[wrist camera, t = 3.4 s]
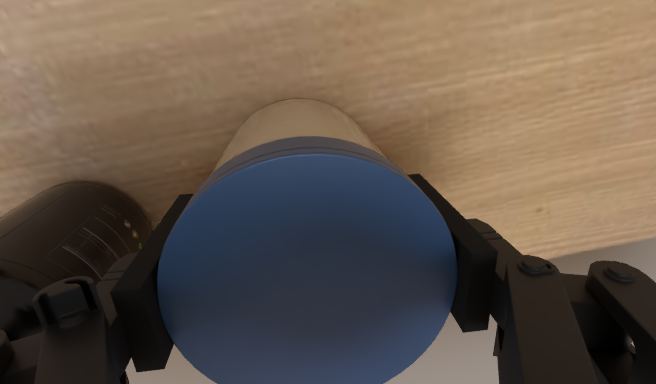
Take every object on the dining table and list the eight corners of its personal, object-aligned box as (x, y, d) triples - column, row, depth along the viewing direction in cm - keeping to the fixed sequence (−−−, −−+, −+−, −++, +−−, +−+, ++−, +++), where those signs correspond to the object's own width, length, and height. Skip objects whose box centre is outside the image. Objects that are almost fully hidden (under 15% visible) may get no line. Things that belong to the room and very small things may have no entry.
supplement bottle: (74, 300, 22) (-133, 548, 11) (0, 204, 20) (-362, 405, 9) (179, 262, 22) (72, 479, 11) (118, 160, 20) (-100, 311, 9)
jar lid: (200, 373, 14) (187, 421, 12) (143, 147, 11) (115, 168, 9) (428, 345, 14) (448, 387, 13) (442, 124, 11) (470, 138, 9)
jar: (236, 246, 22) (197, 402, 13) (212, 104, 19) (135, 165, 9) (374, 232, 23) (438, 370, 13) (372, 92, 20) (455, 139, 10)
